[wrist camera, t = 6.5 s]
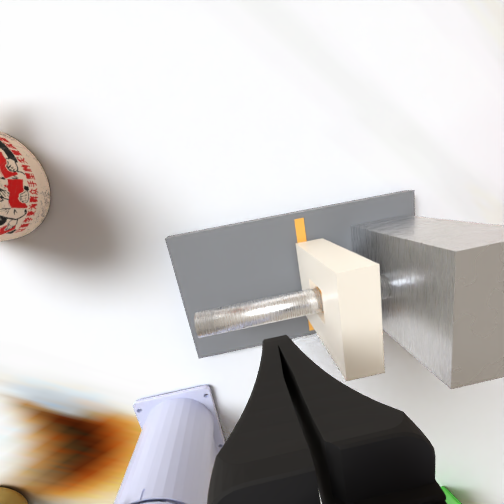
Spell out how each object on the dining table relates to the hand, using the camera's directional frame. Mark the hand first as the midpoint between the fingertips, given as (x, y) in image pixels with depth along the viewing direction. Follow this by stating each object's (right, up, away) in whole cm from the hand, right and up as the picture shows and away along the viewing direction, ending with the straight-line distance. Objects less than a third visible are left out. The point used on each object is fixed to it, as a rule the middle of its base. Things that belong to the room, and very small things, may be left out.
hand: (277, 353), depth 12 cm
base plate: (+3, +3, +10) cm, 11 cm away
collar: (+4, +3, +9) cm, 10 cm away
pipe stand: (+4, +3, +9) cm, 10 cm away
